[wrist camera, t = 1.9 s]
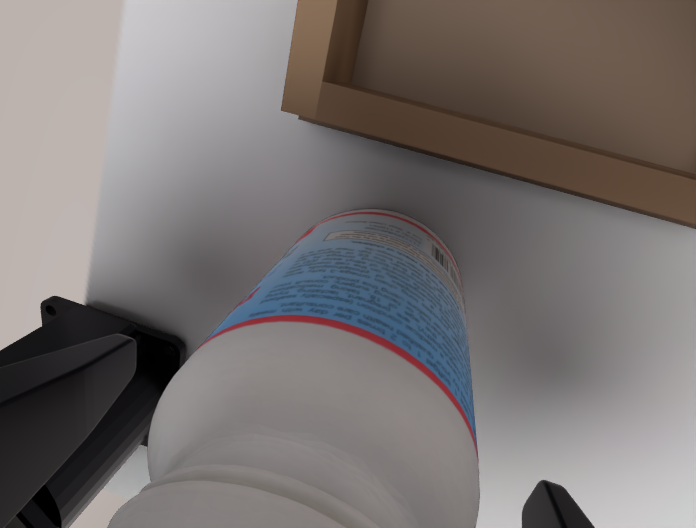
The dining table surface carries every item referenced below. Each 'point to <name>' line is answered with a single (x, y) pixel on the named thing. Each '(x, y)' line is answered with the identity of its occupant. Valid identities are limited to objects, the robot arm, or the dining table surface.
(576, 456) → the dining table surface
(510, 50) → the walnut socket
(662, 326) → the dining table surface
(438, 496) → the pill bottle
